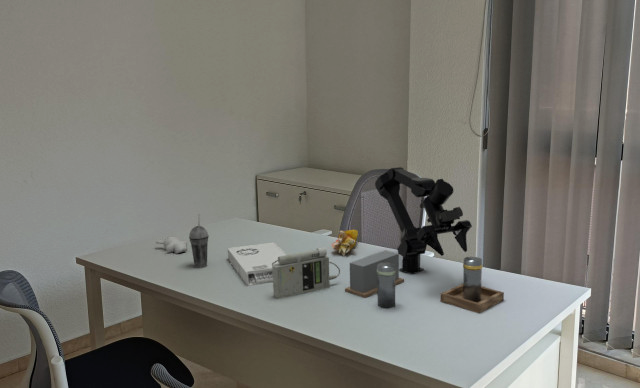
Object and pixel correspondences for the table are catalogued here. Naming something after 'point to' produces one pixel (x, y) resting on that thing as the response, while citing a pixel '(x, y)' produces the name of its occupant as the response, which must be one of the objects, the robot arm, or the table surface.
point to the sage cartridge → (386, 284)
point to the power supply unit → (255, 261)
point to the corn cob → (345, 241)
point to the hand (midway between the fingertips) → (454, 253)
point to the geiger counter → (301, 273)
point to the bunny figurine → (173, 244)
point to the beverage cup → (199, 245)
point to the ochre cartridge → (472, 278)
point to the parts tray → (487, 300)
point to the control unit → (370, 273)
